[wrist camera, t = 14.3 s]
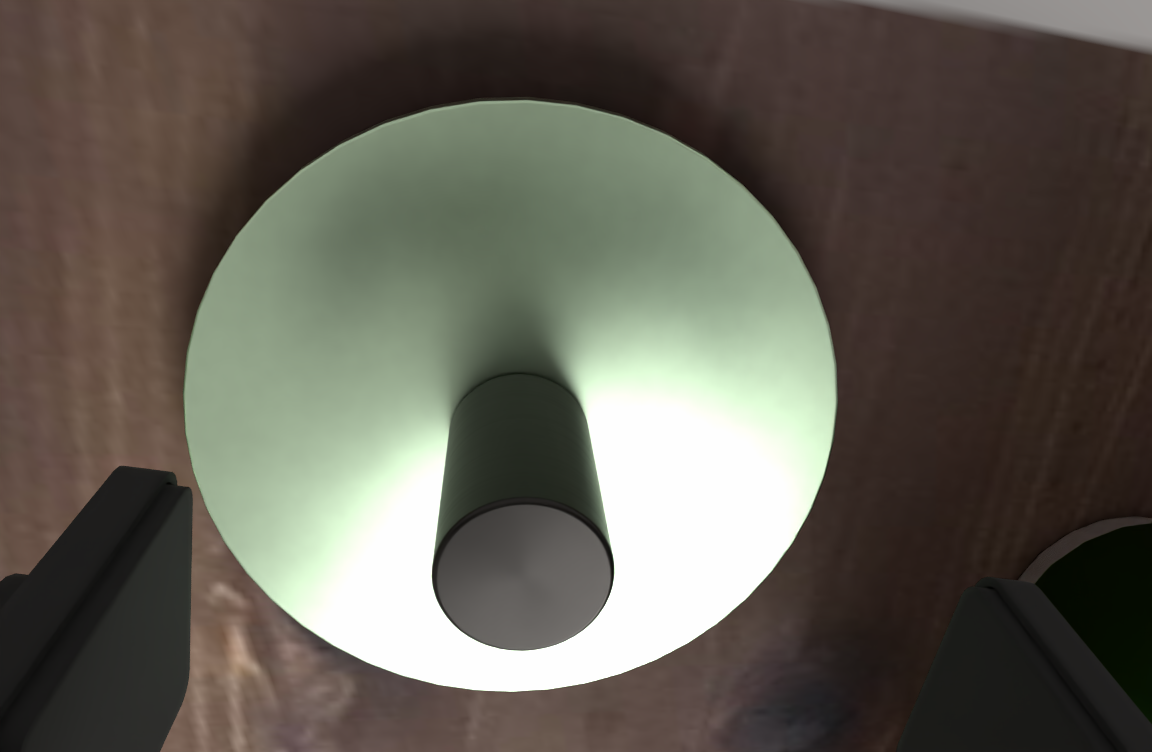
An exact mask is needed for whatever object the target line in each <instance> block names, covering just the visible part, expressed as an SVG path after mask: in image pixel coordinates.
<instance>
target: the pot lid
mask: <svg viewBox="0 0 1152 752" xmlns="http://www.w3.org/2000/svg"><path fill="white" fill-rule="evenodd" d="M183 406H184V424H185V435H186V440H187V444H188V449H189V454H190V459H191V464H192V469H193V473H194V475H195V478H196V481H197V484H198V486H199V489H200V492H201V495H202V498H203V500H204V503H205V506H206V508H207V510H208V512H209V514H210V516H211V518H212V520H213V522H214V524H215V525H216V527H217V529H218V531H219V533H220V535H221V537H222V539H223V541H224V542H225V544H226V545H227V547H228V548H229V549H230V551H231V552H232V554H233V555H234V556H235V558H236V559H237V561H238V562H239V563H240V565H241V566H242V568H243V569H244V570H245V572H246V573H247V574H248V575H249V576H250V577H251V579H252V580H253V581H254V582H255V583H256V584H257V585H258V586H259V587H260V588H261V589H262V590H263V591H264V593H265V594H266V595H267V596H268V597H269V598H270V599H271V600H272V601H273V602H274V603H275V604H277V605H278V606H279V607H280V608H281V609H282V610H284V611H285V612H286V613H287V614H288V615H290V616H291V617H292V618H293V619H294V620H296V621H297V622H298V623H299V624H300V625H302V626H303V627H305V628H306V629H308V630H309V631H311V632H312V633H314V634H315V635H317V636H318V637H320V638H321V639H323V640H324V641H326V642H327V643H329V644H331V645H332V646H334V647H336V648H338V649H340V650H342V651H344V652H346V653H348V654H350V655H352V656H354V657H356V658H358V659H360V660H362V661H364V662H366V663H368V664H371V665H374V666H376V667H379V668H382V669H384V670H387V671H390V672H392V673H395V674H398V675H400V676H404V677H408V678H412V679H416V680H420V681H424V682H427V683H431V684H435V685H440V686H447V687H454V688H461V689H468V690H475V691H501V692H519V691H535V690H550V689H556V688H562V687H568V686H574V685H580V684H585V683H589V682H593V681H597V680H600V679H604V678H607V677H611V676H615V675H618V674H622V673H624V672H627V671H629V670H632V669H635V668H637V667H640V666H642V665H645V664H647V663H650V662H652V661H655V660H657V659H659V658H661V657H663V656H665V655H667V654H669V653H670V652H672V651H674V650H676V649H678V648H680V647H682V646H684V645H686V644H688V643H689V642H691V641H692V640H694V639H695V638H697V637H698V636H700V635H701V634H703V633H704V632H706V631H707V630H709V629H710V628H712V627H713V626H715V625H716V624H718V623H719V622H720V621H722V620H723V619H724V618H725V617H726V616H727V615H729V614H730V613H731V612H732V611H733V610H735V609H736V608H737V607H738V606H739V605H740V604H742V603H743V602H744V601H745V600H746V599H747V598H748V597H749V596H750V595H751V594H752V593H753V592H754V591H755V590H756V589H757V588H758V587H759V586H760V585H761V583H762V582H763V581H764V580H765V579H766V578H767V577H768V576H769V575H770V574H771V573H772V572H773V570H774V569H775V567H776V566H777V565H778V563H779V562H780V561H781V559H782V558H783V556H784V555H785V554H786V552H787V551H788V550H789V548H790V547H791V545H792V544H793V543H794V541H795V539H796V537H797V536H798V534H799V532H800V530H801V528H802V527H803V525H804V523H805V521H806V519H807V518H808V516H809V514H810V512H811V510H812V508H813V505H814V503H815V500H816V498H817V495H818V493H819V490H820V487H821V485H822V482H823V480H824V477H825V474H826V470H827V466H828V462H829V458H830V454H831V450H832V446H833V441H834V435H835V425H836V415H837V406H838V390H837V365H836V358H835V353H834V347H833V342H832V336H831V331H830V326H829V322H828V319H827V316H826V314H825V311H824V308H823V305H822V302H821V299H820V296H819V293H818V290H817V287H816V285H815V283H814V281H813V279H812V277H811V275H810V273H809V272H808V270H807V268H806V266H805V264H804V262H803V260H802V258H801V256H800V254H799V252H798V250H797V249H796V247H795V246H794V245H793V243H792V242H791V240H790V239H789V238H788V236H787V235H786V233H785V232H784V231H783V229H782V228H781V226H780V225H779V224H778V222H777V221H776V220H775V218H774V217H773V215H772V214H771V213H770V212H769V211H768V210H767V209H766V208H765V207H764V206H763V205H762V204H761V203H760V202H759V201H758V200H757V199H756V198H755V197H754V196H753V195H752V194H751V193H750V192H749V191H748V189H747V188H746V187H745V186H744V185H743V184H741V183H740V182H739V181H738V180H737V179H735V178H734V177H733V176H731V175H730V174H729V173H728V172H726V171H725V170H724V169H722V168H721V167H720V166H719V165H717V164H716V163H715V162H713V161H712V160H711V159H710V158H708V157H707V156H706V155H704V154H703V153H702V152H700V151H698V150H696V149H695V148H693V147H691V146H689V145H688V144H686V143H684V142H682V141H681V140H679V139H677V138H675V137H674V136H672V135H670V134H669V133H667V132H665V131H663V130H661V129H658V128H656V127H653V126H651V125H648V124H646V123H643V122H641V121H638V120H636V119H633V118H631V117H628V116H626V115H623V114H621V113H617V112H613V111H609V110H605V109H601V108H597V107H593V106H589V105H585V104H581V103H577V102H571V101H562V100H553V99H544V98H535V97H497V98H476V99H470V100H464V101H458V102H452V103H446V104H440V105H433V106H430V107H426V108H423V109H420V110H417V111H413V112H410V113H407V114H404V115H400V116H397V117H394V118H391V119H387V120H385V121H383V122H381V123H379V124H376V125H374V126H372V127H370V128H368V129H366V130H364V131H362V132H359V133H357V134H355V135H353V136H351V137H349V138H347V139H344V140H343V141H341V142H340V143H338V144H337V145H335V146H334V147H332V148H330V149H329V150H327V151H326V152H324V153H323V154H321V155H320V156H318V157H317V158H315V159H314V160H312V161H311V162H309V163H308V164H306V165H305V166H303V167H302V168H301V169H300V170H299V171H298V172H297V173H296V174H294V175H293V176H292V177H291V178H290V179H289V180H288V181H286V182H285V183H284V184H283V185H282V186H281V187H280V188H279V189H277V190H276V191H275V192H274V193H273V194H272V195H271V196H269V197H268V198H267V199H266V200H265V201H264V202H263V204H262V205H261V206H260V207H259V208H258V210H257V211H256V212H255V213H254V214H253V215H252V217H251V218H250V219H249V220H248V221H247V223H246V224H245V225H244V226H243V227H242V228H241V230H240V231H239V232H238V233H237V234H236V236H235V238H234V239H233V241H232V243H231V244H230V246H229V247H228V249H227V251H226V252H225V254H224V256H223V257H222V259H221V260H220V262H219V264H218V265H217V267H216V269H215V270H214V272H213V274H212V277H211V279H210V281H209V284H208V286H207V288H206V291H205V293H204V295H203V298H202V300H201V303H200V305H199V307H198V310H197V313H196V317H195V321H194V324H193V328H192V332H191V336H190V340H189V344H188V348H187V353H186V364H185V374H184V384H183Z"/></svg>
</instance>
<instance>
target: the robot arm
mask: <svg viewBox="0 0 1152 752" xmlns="http://www.w3.org/2000/svg"><path fill="white" fill-rule="evenodd" d="M192 506H193V498H192V491H191V489H190V488H189V487H183V486H177V480H176V476H175V474H174V473H173V472H168V471H160V470H152V469H144V468H136V467H129V466H119V467H118V468H117V469H115V470H114V471H113V473H112V474H111V475H110V476H109V477H108V479H107V480H106V481H105V482H104V484H103V485H102V486H101V487H100V488H99V490H98V491H97V492H96V493H95V495H94V496H93V497H92V498H91V499H90V501H89V502H88V503H87V504H86V506H85V507H84V508H83V509H82V510H81V512H80V513H79V514H78V515H77V517H76V518H75V519H74V520H73V521H72V523H71V524H70V525H69V526H68V527H67V529H66V530H65V531H64V532H63V534H62V535H61V536H60V537H59V538H58V540H57V541H56V542H55V543H54V545H53V546H52V547H51V548H50V549H49V551H48V552H47V553H46V554H45V556H44V557H43V558H42V559H41V560H40V562H39V563H38V564H37V565H36V567H35V568H34V569H33V570H32V571H31V573H30V574H29V575H24V574H13V575H10V576H7V577H5V578H4V579H3V580H2V581H1V582H0V752H160V750H161V748H162V746H163V744H164V741H165V739H166V737H167V735H168V733H169V731H170V729H171V727H172V724H173V722H174V720H175V718H176V716H177V714H178V712H179V709H180V707H181V705H182V702H183V700H184V696H185V693H186V689H187V685H188V679H189V670H190V616H191V561H192ZM896 752H1152V724H1151V723H1150V722H1149V720H1148V719H1147V718H1146V717H1145V716H1144V714H1143V713H1142V712H1141V711H1140V709H1139V708H1138V707H1137V706H1136V705H1135V703H1134V702H1133V701H1132V700H1131V699H1130V697H1129V696H1128V695H1127V694H1126V692H1125V691H1124V690H1123V689H1122V688H1121V686H1120V685H1119V684H1118V683H1117V682H1116V680H1115V679H1114V678H1113V677H1112V675H1111V674H1110V673H1109V672H1108V671H1107V669H1106V668H1105V667H1104V666H1103V665H1102V663H1101V662H1100V661H1099V660H1098V658H1097V657H1096V656H1095V655H1094V654H1093V652H1092V651H1091V650H1090V649H1089V648H1088V646H1087V645H1086V644H1085V643H1084V641H1083V640H1082V639H1081V638H1080V637H1079V635H1078V634H1077V633H1076V632H1075V631H1074V629H1073V628H1072V627H1071V626H1070V624H1069V623H1068V622H1067V621H1066V620H1065V618H1064V617H1063V616H1062V615H1061V614H1060V612H1059V611H1058V610H1057V609H1056V607H1055V606H1054V605H1053V604H1052V603H1051V601H1050V600H1049V599H1048V598H1047V597H1046V595H1045V594H1044V593H1043V592H1042V590H1041V589H1040V588H1039V587H1037V586H1036V585H1035V584H1033V583H1030V582H1025V581H1017V580H1009V579H1001V578H993V577H986V578H982V579H981V580H980V581H979V582H978V583H977V584H976V585H975V587H969V588H967V589H966V590H965V591H964V592H963V594H962V596H961V597H960V600H959V602H958V605H957V607H956V609H955V612H954V614H953V616H952V619H951V621H950V623H949V626H948V628H947V630H946V633H945V635H944V637H943V640H942V642H941V644H940V647H939V649H938V651H937V654H936V656H935V658H934V661H933V663H932V665H931V668H930V670H929V672H928V675H927V677H926V679H925V682H924V684H923V686H922V689H921V691H920V693H919V696H918V698H917V700H916V703H915V705H914V707H913V710H912V712H911V714H910V717H909V719H908V722H907V724H906V726H905V729H904V731H903V733H902V736H901V738H900V740H899V743H898V746H897V749H896Z"/></svg>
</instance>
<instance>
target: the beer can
mask: <svg viewBox="0 0 1152 752" xmlns="http://www.w3.org/2000/svg"><path fill="white" fill-rule="evenodd" d="M1018 581H1025V582H1030V583H1033V584H1035V585H1036V586H1037V587H1039V588H1040V589H1041V590H1042V592H1043V593H1044V594H1045V595H1046V597H1047V598H1048V599H1049V600H1050V601H1051V603H1052V604H1053V605H1054V606H1055V607H1056V609H1057V610H1058V611H1059V612H1060V614H1061V615H1062V616H1063V617H1064V618H1065V620H1066V621H1067V622H1068V623H1069V624H1070V626H1071V627H1072V628H1073V629H1074V631H1075V632H1076V633H1077V634H1078V635H1079V637H1080V638H1081V639H1082V640H1083V641H1084V643H1085V644H1086V645H1087V646H1088V648H1089V649H1090V650H1091V651H1092V652H1093V654H1094V655H1095V656H1096V657H1097V658H1098V660H1099V661H1100V662H1101V663H1102V665H1103V666H1104V667H1105V668H1106V669H1107V671H1108V672H1109V673H1110V674H1111V675H1112V677H1113V678H1114V679H1115V680H1116V682H1117V683H1118V684H1119V685H1120V686H1121V688H1122V689H1123V690H1124V691H1125V692H1126V694H1127V695H1128V696H1129V697H1130V699H1131V700H1132V701H1133V702H1134V703H1135V705H1136V706H1137V707H1138V708H1139V709H1140V711H1141V712H1142V713H1143V714H1144V716H1145V717H1146V718H1147V719H1148V720H1149V722H1150V723H1151V724H1152V519H1151V518H1145V517H1139V516H1131V517H1123V518H1115V519H1107V520H1101V521H1099V522H1096V523H1094V524H1091V525H1089V526H1086V527H1084V528H1081V529H1079V530H1076V531H1073V532H1071V533H1069V534H1067V535H1066V536H1065V537H1063V538H1062V539H1060V540H1059V541H1057V542H1056V543H1055V544H1053V545H1052V546H1050V547H1049V548H1047V549H1046V550H1045V551H1043V552H1042V553H1041V554H1040V555H1039V556H1038V557H1037V558H1036V559H1035V560H1034V562H1033V563H1032V564H1031V565H1030V566H1029V567H1028V568H1027V570H1026V571H1025V572H1024V573H1023V574H1022V575H1021V576H1020V578H1019V579H1018Z"/></svg>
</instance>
